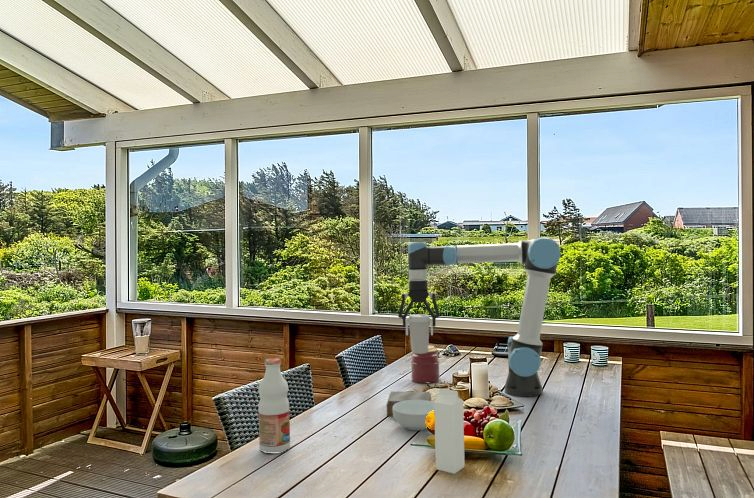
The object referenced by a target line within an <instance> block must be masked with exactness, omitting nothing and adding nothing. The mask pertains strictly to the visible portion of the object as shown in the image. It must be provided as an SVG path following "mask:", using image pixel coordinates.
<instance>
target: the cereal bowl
mask: <svg viewBox="0 0 754 498" xmlns="http://www.w3.org/2000/svg"><path fill="white" fill-rule="evenodd" d="M392 409H393V416H392V417H393V418H394V420H395V422H397V423H398V424H399V425H400V426H403V427H405V428H406V429H408V430H411V431H424V430H427V429H426V424H425V419H426V416H427V415H428V413H429V412H430V411H432V410H434V401H433V400H431V401H426V400H406V401H401V402H398V403H396V404H394V405H393V408H392Z"/></svg>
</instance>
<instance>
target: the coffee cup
mask: <svg viewBox="0 0 754 498" xmlns="http://www.w3.org/2000/svg"><path fill="white" fill-rule="evenodd" d="M407 319H408V330H409V337H410V346H411V354H412V353H416V354H424V353H428V345H429V341H430V340H429V338H430V327H431V317H430V315H429V314H423V313H418V314H410V315H409V317H408V318H407Z"/></svg>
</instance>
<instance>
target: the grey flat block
mask: <svg viewBox="0 0 754 498" xmlns="http://www.w3.org/2000/svg"><path fill="white" fill-rule="evenodd" d="M406 400H426V401H432V393H430V391H390V393H389V395H388V399H387V402H386V415H387V417H388V416H389V417H390V416H392V417H394V416H393V409H392V408H393V405H394V404H396V403H398V402H401V401H406Z"/></svg>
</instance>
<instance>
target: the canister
mask: <svg viewBox="0 0 754 498" xmlns="http://www.w3.org/2000/svg"><path fill="white" fill-rule="evenodd" d="M437 351H438V348H437V347H435V346H433V345H429V344H428V353H424V354H416V353H412V352H411V354H410V356H411V360H410V364H411V366H410V367H411V374H410V375H411V377H410V378H411V381H412V382H413V383H417V384H427V383H426V382H430V383H429V384H433V383H434V384H435V383H437V382H439V381H440V360H439V356H440V354H439V353H438V352H437Z"/></svg>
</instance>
